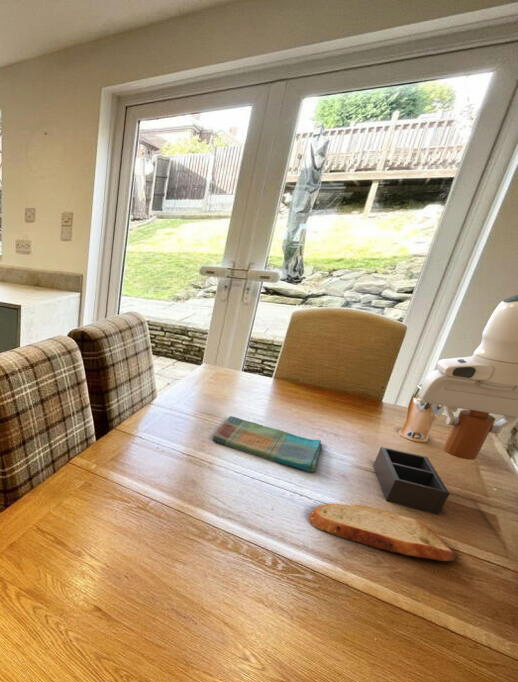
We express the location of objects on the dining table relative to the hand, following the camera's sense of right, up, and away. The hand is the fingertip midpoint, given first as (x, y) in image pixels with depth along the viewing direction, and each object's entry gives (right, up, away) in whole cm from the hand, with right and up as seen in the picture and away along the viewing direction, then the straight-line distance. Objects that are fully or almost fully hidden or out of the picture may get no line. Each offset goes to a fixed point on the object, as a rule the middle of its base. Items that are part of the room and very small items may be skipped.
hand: (471, 428), depth 89 cm
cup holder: (-13, -14, +2) cm, 20 cm away
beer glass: (+11, -6, +24) cm, 27 cm away
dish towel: (-34, -7, +19) cm, 40 cm away
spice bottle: (0, -6, +2) cm, 7 cm away
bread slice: (-33, -20, -12) cm, 40 cm away
